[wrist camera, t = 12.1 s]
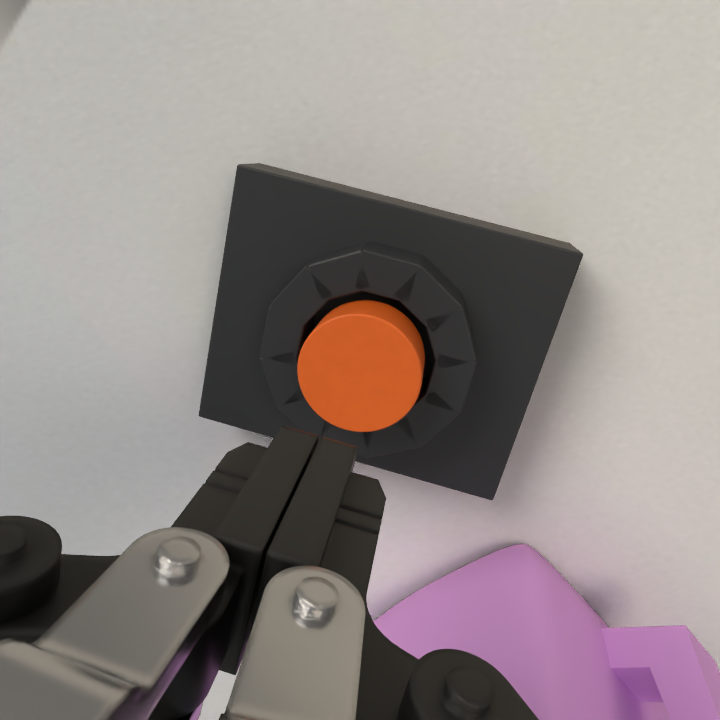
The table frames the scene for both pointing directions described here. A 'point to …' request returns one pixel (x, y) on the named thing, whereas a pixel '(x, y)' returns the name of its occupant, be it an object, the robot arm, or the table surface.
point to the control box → (398, 289)
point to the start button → (362, 366)
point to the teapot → (556, 643)
